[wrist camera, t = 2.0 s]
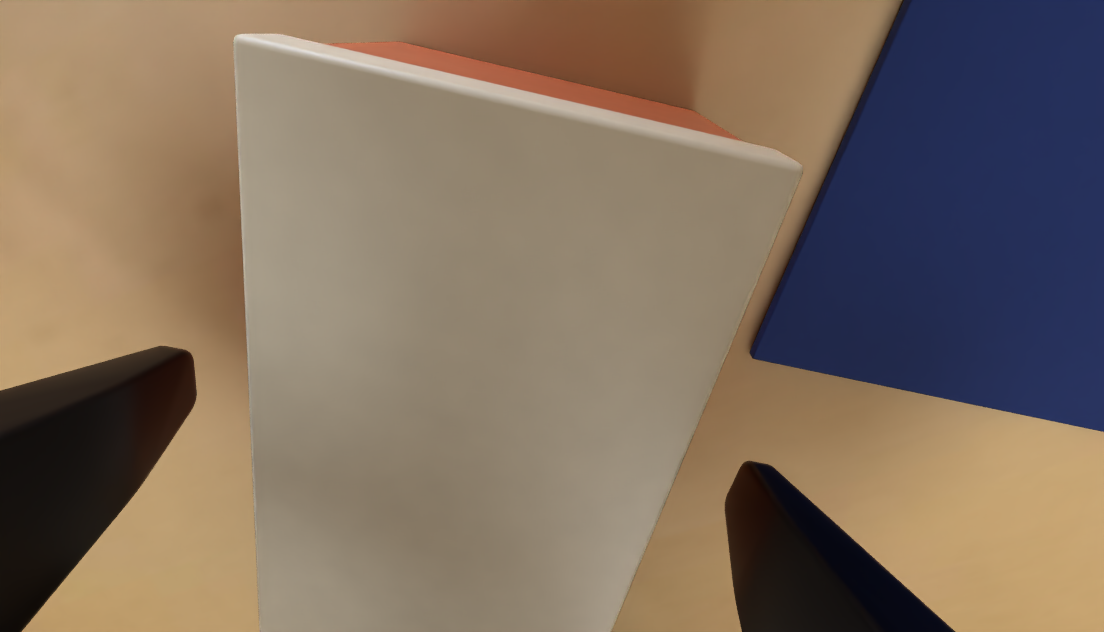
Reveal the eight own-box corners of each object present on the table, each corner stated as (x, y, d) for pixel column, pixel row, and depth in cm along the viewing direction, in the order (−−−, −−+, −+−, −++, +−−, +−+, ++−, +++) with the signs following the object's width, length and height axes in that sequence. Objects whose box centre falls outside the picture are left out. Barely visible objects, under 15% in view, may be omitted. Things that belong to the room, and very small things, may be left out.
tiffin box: (583, 484, 16) (586, 696, 11) (362, 442, 15) (257, 642, 10) (703, 107, 11) (809, 165, 6) (392, 33, 11) (229, 31, 6)
